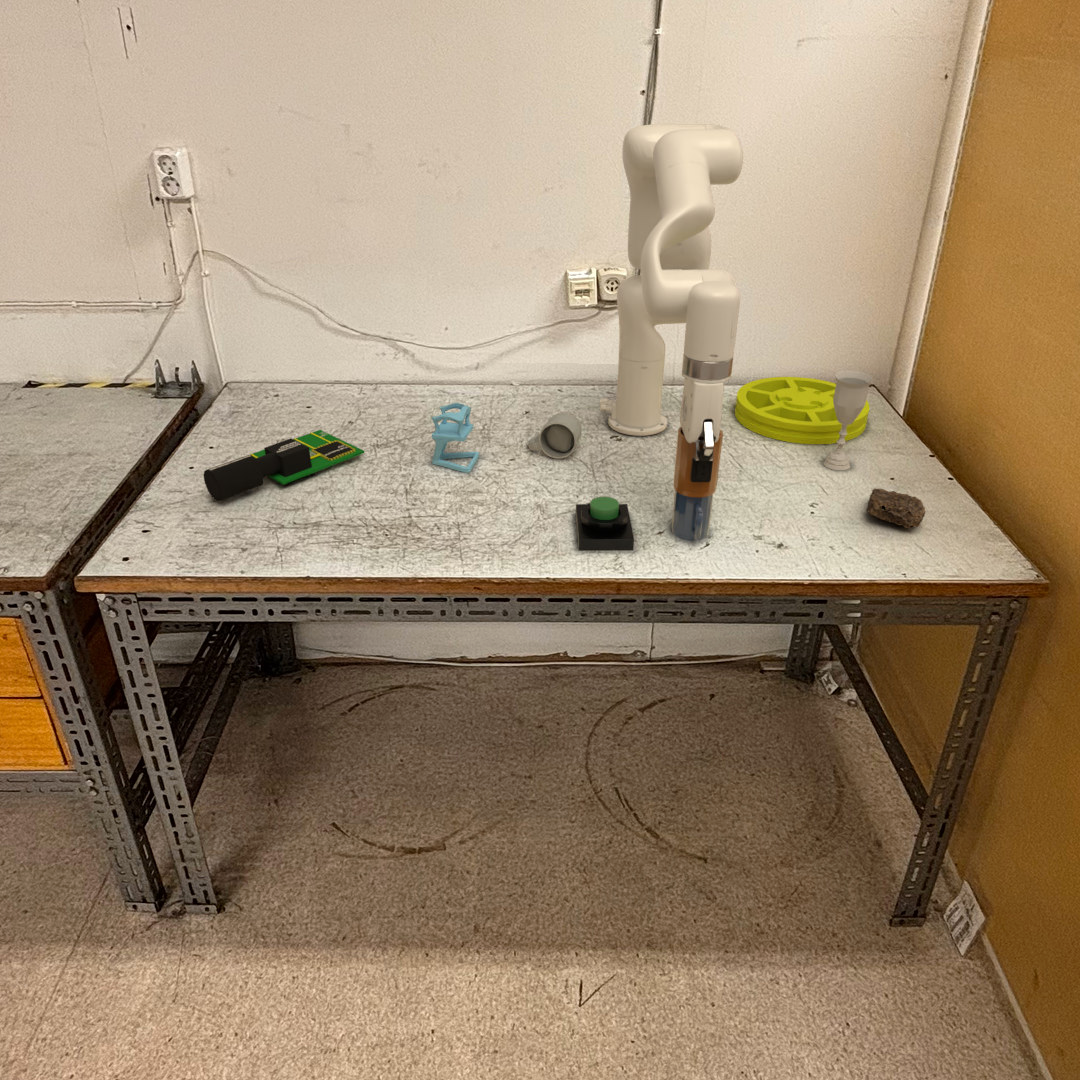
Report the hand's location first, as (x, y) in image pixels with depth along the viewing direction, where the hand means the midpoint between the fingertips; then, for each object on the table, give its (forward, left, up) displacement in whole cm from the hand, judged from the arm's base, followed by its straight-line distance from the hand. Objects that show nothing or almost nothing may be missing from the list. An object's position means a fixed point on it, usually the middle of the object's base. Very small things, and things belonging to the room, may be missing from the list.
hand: (696, 469), depth 141 cm
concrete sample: (+30, +21, -12) cm, 39 cm away
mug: (+1, -1, -12) cm, 12 cm away
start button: (-13, -7, -8) cm, 17 cm away
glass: (0, 0, -3) cm, 3 cm away
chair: (-50, +4, -12) cm, 52 cm away
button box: (-13, -7, -12) cm, 19 cm away
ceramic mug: (-35, +18, -12) cm, 41 cm away
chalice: (+17, +38, -12) cm, 43 cm away
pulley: (+5, +58, -12) cm, 60 cm away
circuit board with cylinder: (-78, -15, -12) cm, 80 cm away
